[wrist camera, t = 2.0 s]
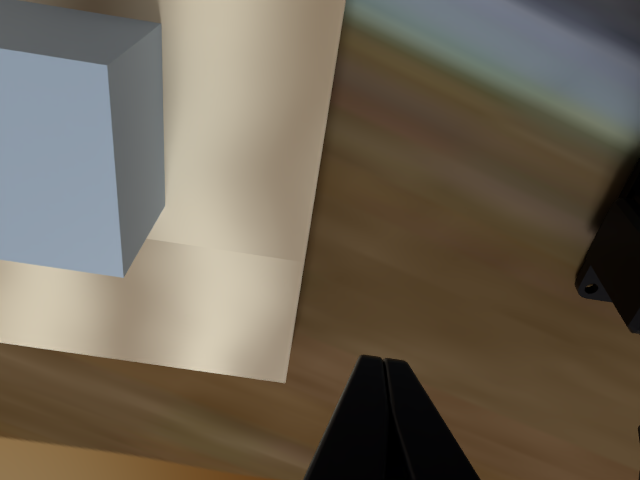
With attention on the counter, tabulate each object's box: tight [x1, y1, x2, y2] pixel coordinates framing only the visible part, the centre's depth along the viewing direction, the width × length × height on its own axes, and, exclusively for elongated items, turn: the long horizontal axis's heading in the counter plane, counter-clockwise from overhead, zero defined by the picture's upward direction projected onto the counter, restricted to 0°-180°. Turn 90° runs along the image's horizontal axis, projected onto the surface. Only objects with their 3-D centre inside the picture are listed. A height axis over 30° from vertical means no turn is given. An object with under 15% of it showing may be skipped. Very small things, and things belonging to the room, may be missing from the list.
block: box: [0, 0, 165, 278], centre depth 15 cm, size 6×6×4 cm
